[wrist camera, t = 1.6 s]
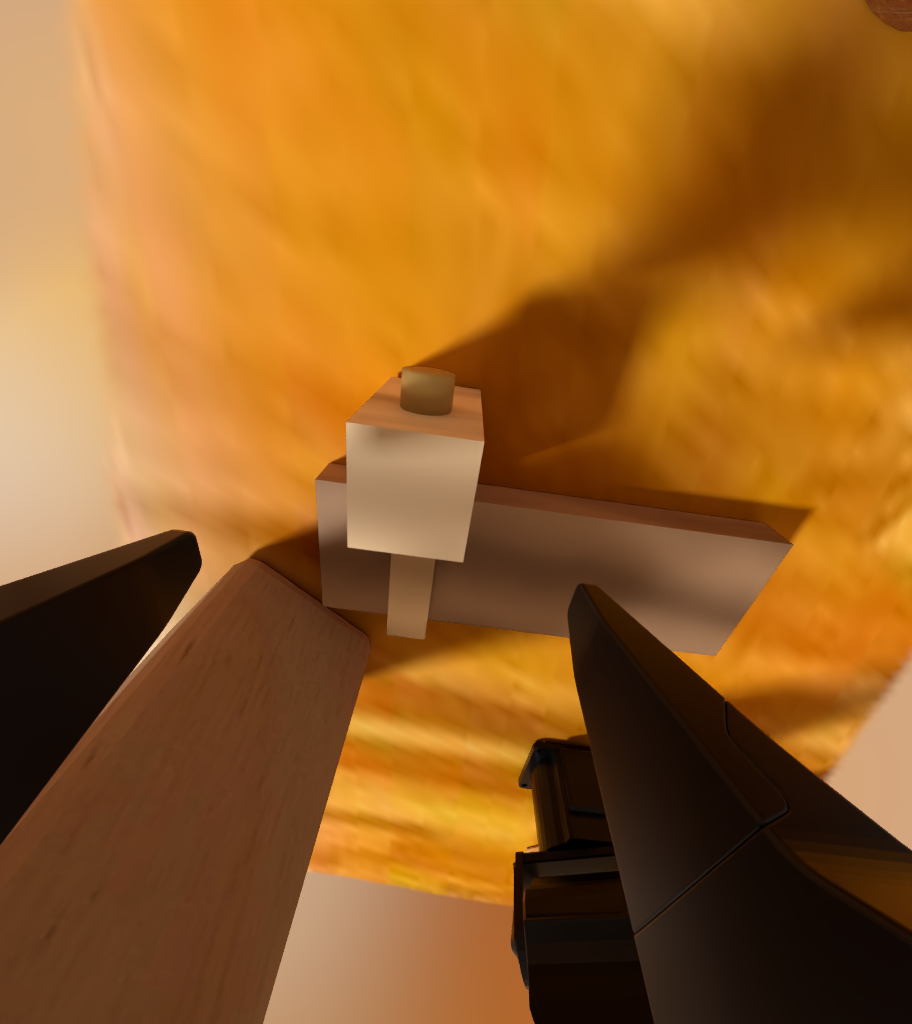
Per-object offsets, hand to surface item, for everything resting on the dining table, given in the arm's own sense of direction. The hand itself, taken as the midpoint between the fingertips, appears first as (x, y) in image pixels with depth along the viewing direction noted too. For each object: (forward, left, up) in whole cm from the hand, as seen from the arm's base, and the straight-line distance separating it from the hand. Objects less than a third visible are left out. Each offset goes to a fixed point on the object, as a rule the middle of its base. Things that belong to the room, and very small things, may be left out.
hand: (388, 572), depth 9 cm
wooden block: (-15, +9, -11) cm, 21 cm away
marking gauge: (-3, 0, -10) cm, 11 cm away
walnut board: (-6, -7, -11) cm, 14 cm away
